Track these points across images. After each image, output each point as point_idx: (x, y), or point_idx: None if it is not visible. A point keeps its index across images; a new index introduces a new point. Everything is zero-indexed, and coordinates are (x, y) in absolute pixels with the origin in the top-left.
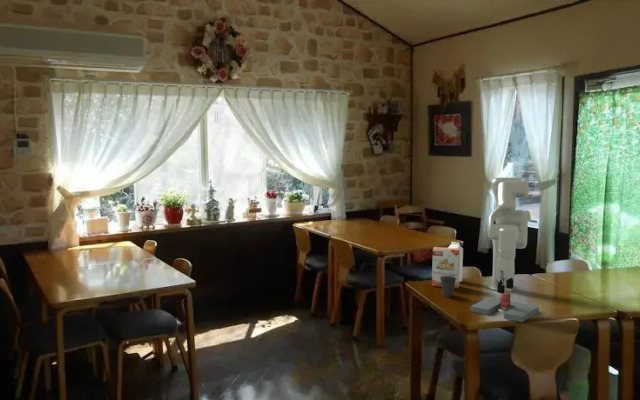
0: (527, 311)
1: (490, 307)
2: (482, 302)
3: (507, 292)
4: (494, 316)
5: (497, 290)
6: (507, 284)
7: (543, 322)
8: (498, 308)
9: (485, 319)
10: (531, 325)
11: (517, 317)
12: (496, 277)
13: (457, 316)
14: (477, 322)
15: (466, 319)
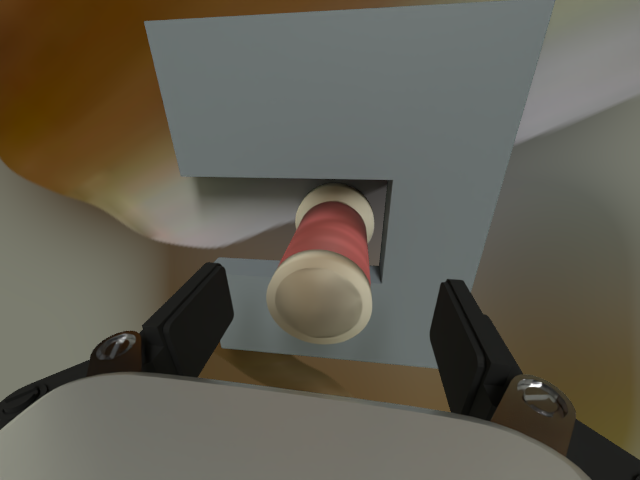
0: (318, 347)
1: (237, 170)
2: (314, 47)
3: (285, 325)
4: (211, 210)
5: (196, 273)
6: (451, 321)
7: (295, 381)
8: (328, 186)
9: (130, 194)
10: (228, 359)
11: None
12: (29, 409)
13: (15, 21)
14: (59, 182)
15: (35, 108)
